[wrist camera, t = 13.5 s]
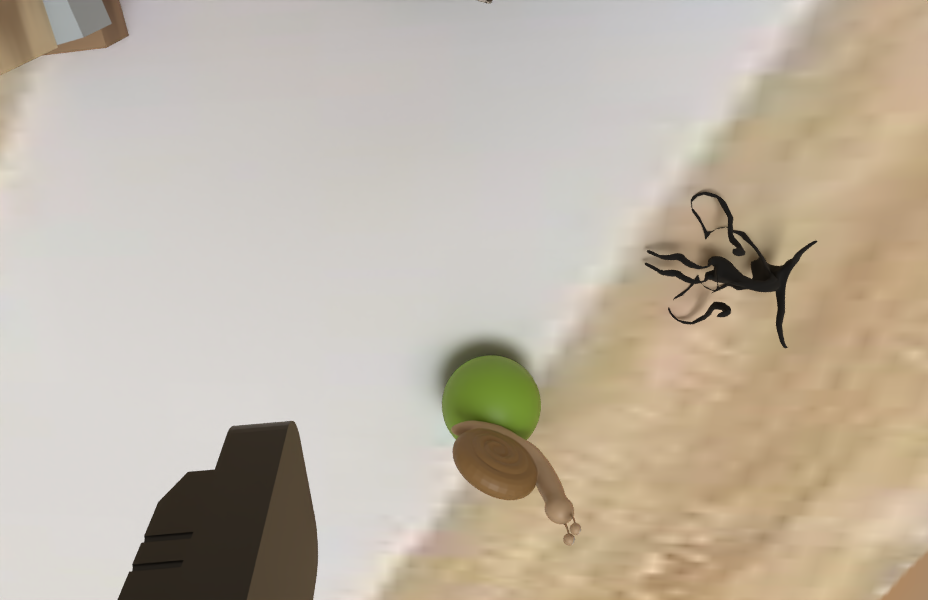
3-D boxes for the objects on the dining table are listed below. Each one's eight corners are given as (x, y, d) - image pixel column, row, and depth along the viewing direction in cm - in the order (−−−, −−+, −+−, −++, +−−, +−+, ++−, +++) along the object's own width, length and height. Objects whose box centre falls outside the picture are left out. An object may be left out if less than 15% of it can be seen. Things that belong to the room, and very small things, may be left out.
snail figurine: (525, 434, 52) (553, 581, 41) (426, 401, 50) (428, 543, 40) (565, 362, 50) (605, 496, 39) (463, 325, 48) (475, 453, 38)
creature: (633, 307, 50) (772, 328, 49) (633, 351, 45) (787, 375, 44) (657, 179, 46) (807, 199, 45) (660, 212, 42) (828, 234, 41)
